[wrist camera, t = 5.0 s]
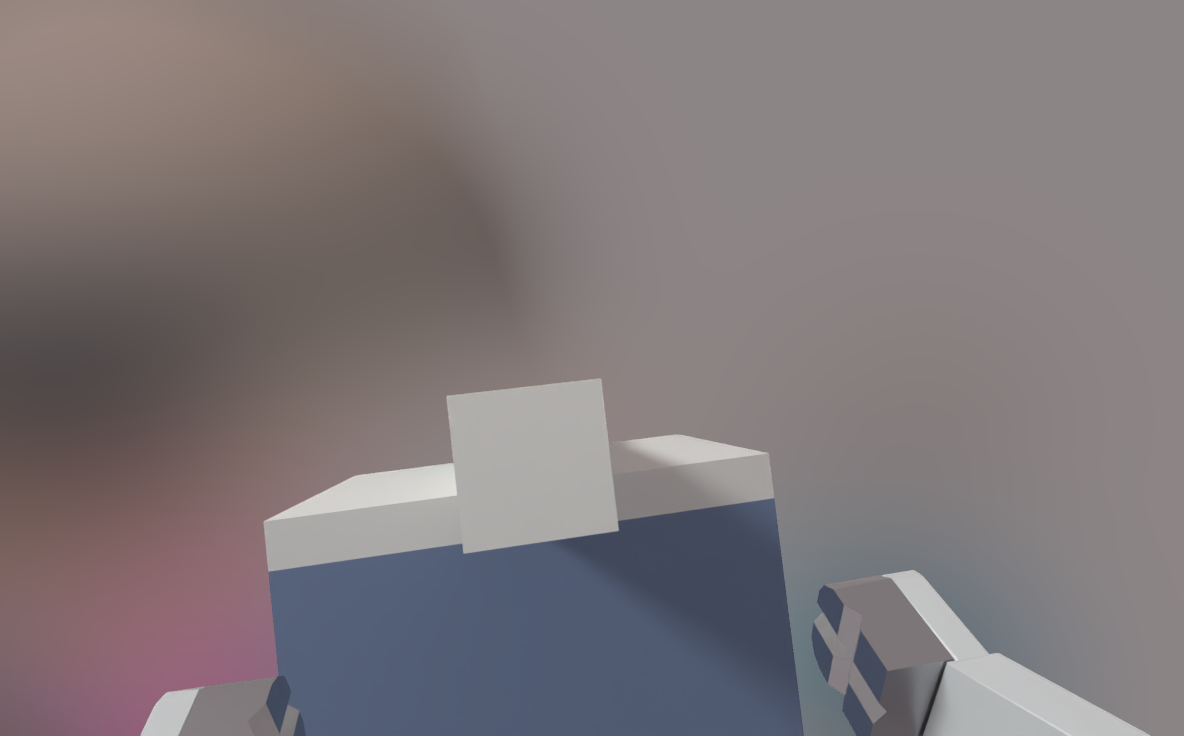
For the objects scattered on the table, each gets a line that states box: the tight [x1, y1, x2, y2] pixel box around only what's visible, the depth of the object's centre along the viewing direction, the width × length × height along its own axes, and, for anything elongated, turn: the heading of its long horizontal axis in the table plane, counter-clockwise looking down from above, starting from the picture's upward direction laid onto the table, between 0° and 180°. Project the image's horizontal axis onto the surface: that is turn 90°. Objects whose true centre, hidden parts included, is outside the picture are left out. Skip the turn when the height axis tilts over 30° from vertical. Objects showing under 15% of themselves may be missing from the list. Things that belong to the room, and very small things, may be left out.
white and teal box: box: [447, 379, 619, 554], centre depth 22 cm, size 20×4×3 cm, turn 7°
